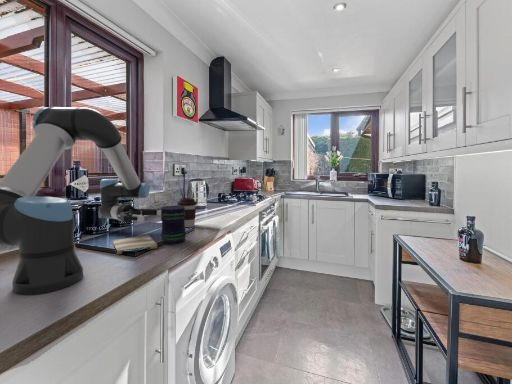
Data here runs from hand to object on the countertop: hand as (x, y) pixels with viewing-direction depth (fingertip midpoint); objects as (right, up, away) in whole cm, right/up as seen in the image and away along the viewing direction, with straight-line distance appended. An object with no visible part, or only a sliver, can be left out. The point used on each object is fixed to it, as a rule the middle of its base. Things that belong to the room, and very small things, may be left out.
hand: (156, 216), depth 113 cm
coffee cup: (+7, -8, +26) cm, 28 cm away
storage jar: (+9, -11, -3) cm, 14 cm away
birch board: (-5, -11, -9) cm, 15 cm away
